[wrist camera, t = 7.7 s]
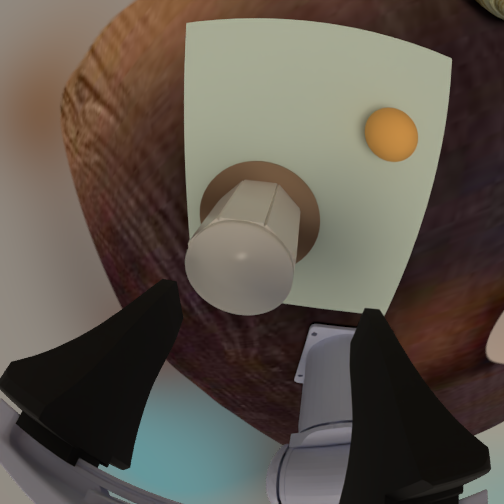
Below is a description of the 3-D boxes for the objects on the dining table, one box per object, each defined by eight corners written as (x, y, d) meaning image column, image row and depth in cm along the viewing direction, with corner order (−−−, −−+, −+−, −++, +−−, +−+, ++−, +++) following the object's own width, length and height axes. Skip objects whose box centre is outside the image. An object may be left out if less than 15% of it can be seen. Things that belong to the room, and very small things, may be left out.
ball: (402, 159, 14) (420, 174, 12) (356, 149, 15) (366, 162, 12) (410, 113, 13) (430, 118, 10) (363, 101, 13) (375, 102, 10)
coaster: (309, 276, 20) (309, 279, 20) (203, 260, 21) (202, 263, 21) (328, 169, 16) (329, 170, 15) (199, 156, 17) (197, 157, 16)
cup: (293, 258, 19) (285, 322, 14) (219, 247, 20) (189, 305, 15) (303, 186, 16) (300, 235, 11) (219, 177, 17) (180, 219, 12)
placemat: (383, 312, 21) (384, 315, 21) (196, 285, 23) (194, 288, 23) (448, 58, 10) (451, 58, 10) (189, 24, 12) (186, 23, 12)
